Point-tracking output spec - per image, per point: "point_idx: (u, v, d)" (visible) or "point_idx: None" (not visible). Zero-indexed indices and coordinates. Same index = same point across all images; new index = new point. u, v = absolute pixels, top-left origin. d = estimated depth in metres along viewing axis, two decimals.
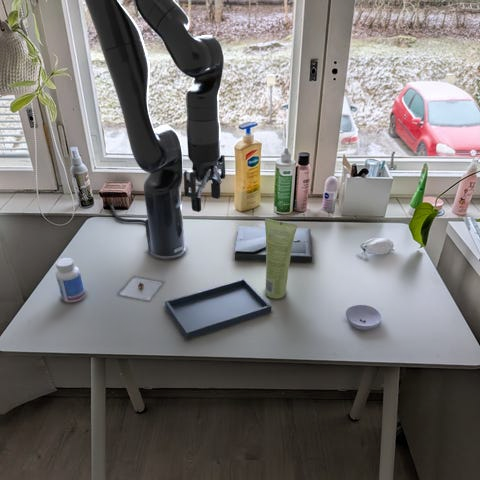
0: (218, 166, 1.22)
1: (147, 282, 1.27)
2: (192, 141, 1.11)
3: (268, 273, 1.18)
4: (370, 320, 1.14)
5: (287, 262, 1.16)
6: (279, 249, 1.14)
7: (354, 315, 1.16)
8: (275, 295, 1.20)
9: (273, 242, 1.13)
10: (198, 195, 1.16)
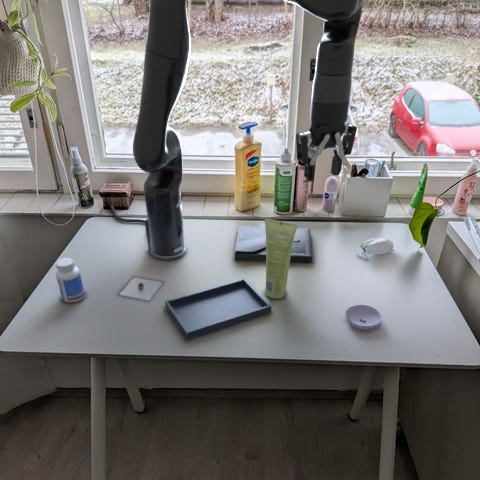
0: (346, 138, 1.07)
1: (147, 282, 1.27)
2: (313, 97, 0.99)
3: (268, 273, 1.18)
4: (370, 320, 1.14)
5: (287, 262, 1.16)
6: (279, 249, 1.14)
7: (354, 315, 1.16)
8: (275, 295, 1.20)
9: (273, 242, 1.13)
10: (311, 162, 1.05)
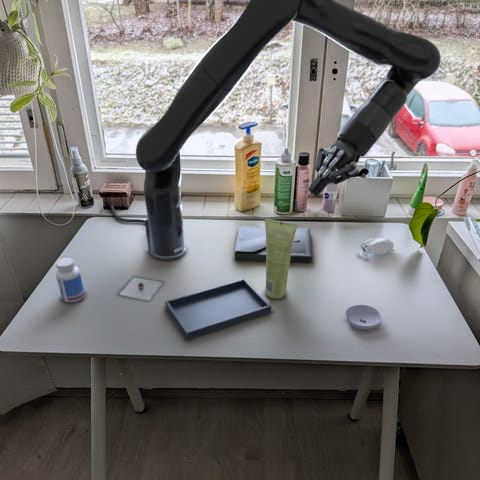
0: (324, 160, 1.12)
1: (147, 282, 1.27)
2: (374, 131, 1.05)
3: (268, 273, 1.18)
4: (370, 320, 1.14)
5: (287, 262, 1.16)
6: (279, 249, 1.14)
7: (354, 315, 1.16)
8: (275, 295, 1.20)
9: (273, 242, 1.13)
10: None
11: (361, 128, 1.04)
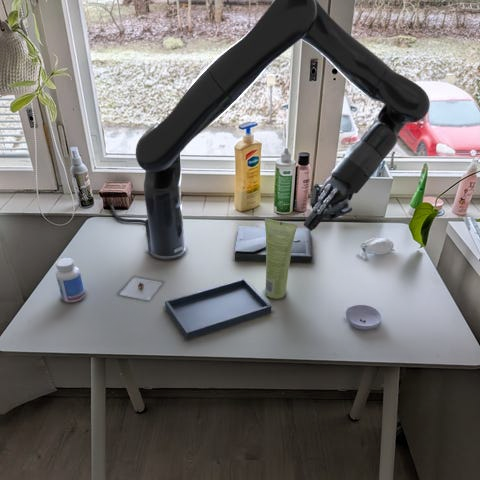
0: (319, 196, 1.17)
1: (147, 282, 1.27)
2: (366, 171, 1.10)
3: (268, 273, 1.18)
4: (370, 320, 1.14)
5: (287, 262, 1.16)
6: (279, 249, 1.14)
7: (354, 315, 1.16)
8: (275, 295, 1.20)
9: (273, 242, 1.13)
10: None
11: (354, 168, 1.09)
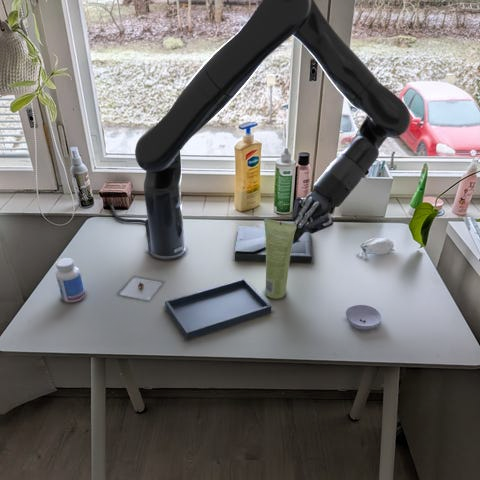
0: (301, 209, 1.17)
1: (147, 282, 1.27)
2: (348, 185, 1.10)
3: (268, 273, 1.18)
4: (370, 320, 1.14)
5: (287, 262, 1.16)
6: (279, 249, 1.14)
7: (354, 315, 1.16)
8: (275, 295, 1.20)
9: (273, 243, 1.13)
10: None
11: (335, 182, 1.09)
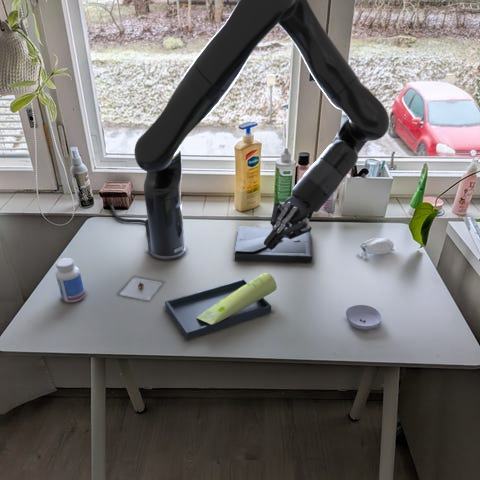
0: (279, 214, 1.15)
1: (147, 282, 1.27)
2: (326, 189, 1.07)
3: None
4: (370, 320, 1.14)
5: (244, 306, 1.13)
6: None
7: (354, 315, 1.16)
8: None
9: None
10: None
11: (313, 187, 1.07)
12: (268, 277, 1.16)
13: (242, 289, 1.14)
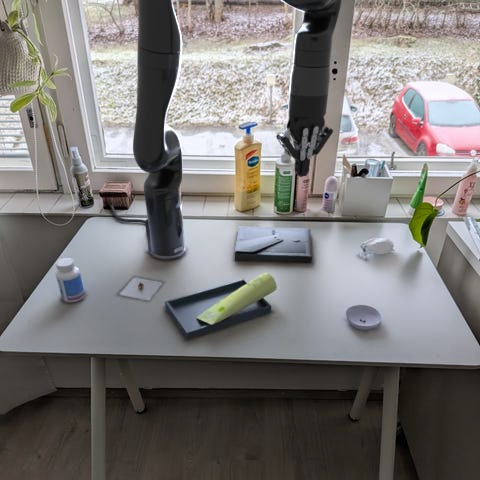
0: (319, 138, 1.05)
1: (147, 282, 1.27)
2: (291, 90, 0.96)
3: None
4: (370, 320, 1.14)
5: (244, 306, 1.13)
6: None
7: (354, 315, 1.16)
8: None
9: None
10: (302, 157, 1.04)
11: None
12: (268, 277, 1.16)
13: (242, 289, 1.14)
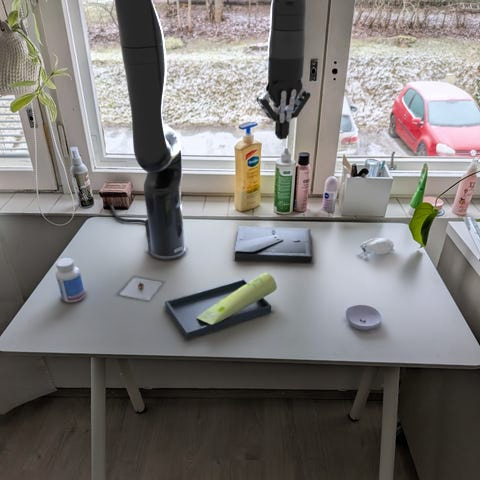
0: (297, 101, 1.11)
1: (147, 282, 1.27)
2: (269, 54, 1.03)
3: None
4: (370, 320, 1.14)
5: (244, 306, 1.13)
6: None
7: (354, 315, 1.16)
8: None
9: None
10: (281, 119, 1.10)
11: None
12: (268, 277, 1.16)
13: (242, 289, 1.14)
